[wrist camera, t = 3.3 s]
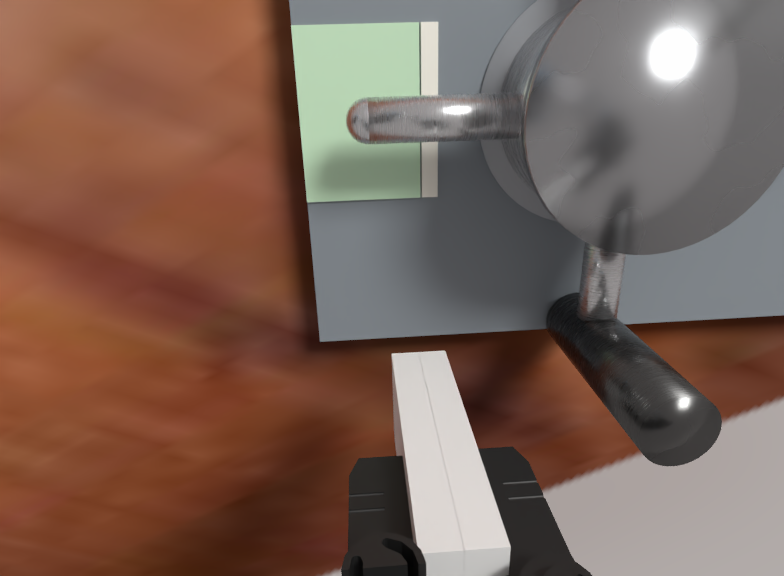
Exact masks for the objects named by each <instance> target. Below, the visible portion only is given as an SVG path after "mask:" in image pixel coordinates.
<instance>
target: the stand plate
mask: <svg viewBox="0 0 784 576" xmlns="http://www.w3.org/2000/svg"><path fill="white" fill-rule="evenodd" d="M577 1H578V0H289V6H290V17H291V32H292V43H293V54H294V65H295V76H296V87H297V98H298V109H299V120H300V131H301V142H302V153H303V164H304V175H305V186H306V197H307V204H308V215H309V226H310V237H311V248H312V259H313V270H314V281H315V292H316V304H317V315H318V326H319V337H320V342H325V341H342V340H360V339H377V338H395V337H412V336H430V335H447V334H465V333H482V332H500V331H517V330H535V329H547V327H546V318H547V314H548V312H549V310H550V308H551V306H552V305H553V304H554V303H555V302H556V301H557V300H558V299H560V298H561V297H563V296H565V295H567V294H570V293H576V292H579V289H580V280H581V272H582V263H583V254H584V246H585V241H583V240H581V239H580V238H578V237H577V236H575V235H574V234H572V233H571V232H569V231H568V230H567V229H565V228H564V227H563V226H562V225H561V224H559V223H558V222H557V221H556V220H555V219H554V218H553V217H552V216H551V215H550V213H549V212H548V211H547V210H546V208H545V207H544V206H543V205H542V203H541V201H540V200H539V198H538V196H537V195H536V193H535V192H534V191H533V190H531V189H530V188H529V187H528V186H527V185H526V184H525V183H523V182H522V181H521V179H520V178H519V177H518V176H517V174H516V173H515V172H514V170H513V169H512V167H511V165H510V164H509V162H508V160H507V157H506V155H505V153H504V150H503V146H502V143H501V140H474V141H447V142H420V143H393V144H363V143H360V142H358V141H356V140H355V139H354V138H353V137H352V136H351V135H350V133H349V132H348V129H347V127H346V115H347V111H348V109H349V107H350V106H351V105H352V104H353V103H354V102H355V101H357V100H358V99H361V98H365V97H387V96H418V95H449V94H480V93H501V92H502V87H503V84H504V81H505V78H506V75H507V72H508V70H509V68H510V66H511V64H512V62H513V60H514V58H515V56H516V55H517V53H518V52H519V50H520V49H521V47H522V45H523V44H524V43H525V42H526V41H527V39H528V38H529V37H530V36H531V35H532V34H533V33H534V32H535V31H536V30H537V29H538V28H539V27H540V26H541V25H542V24H543V23H544V22H546V21H547V20H548V19H550V18H551V17H552V16H554V15H555V14H557V13H559V12H561V11H562V10H564V9H566V8H568V7H570V6H573V5H574V4H575V3H576V2H577ZM780 315H784V167H783V169H782V170H781V172H780V173H779V174H778V176H777V177H776V179H775V180H774V182H773V183H772V184H771V186H770V187H769V188H768V189H767V190H766V191H765V193H764V194H763V195H762V196H761V197H760V198H759V200H758V201H756V202H755V203H754V204H753V205H752V206H751V207H750V208H749V209H748V210H747V211H746V212H745V213H744V214H743V215H741V216H740V217H739V218H737V219H736V220H735V221H734V222H732V223H731V224H730V225H728V226H727V227H725V228H724V229H722V230H720V231H719V232H717V233H716V234H714V235H712V236H710V237H708V238H706V239H704V240H702V241H700V242H698V243H696V244H693V245H690V246H687V247H685V248H682V249H679V250H674V251H670V252H666V253H660V254H652V255H627V254H626V261H625V267H624V274H623V281H622V288H621V294H620V301H619V308H618V315H617V319H619V320H620V321H621V322H622V323H623V324H640V323H657V322H675V321H692V320H710V319H727V318H745V317H762V316H780Z"/></svg>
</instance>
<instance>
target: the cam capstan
mask: <svg viewBox="0 0 784 576" xmlns="http://www.w3.org/2000/svg"><path fill="white" fill-rule="evenodd" d="M346 127H347V129H348V132H349V133H350V135H351V136H352V137H353V138H354V139H355V140H356V141H358V142H360V143H363V144H393V143H420V142H447V141H474V140H501V143H502V146H503V150H504V153H505V155H506V157H507V160H508V162H509V164H510V165H511V167H512V169H513V170H514V172H515V173H516V174H517V176H518V177H519V178H520V179H521V181H522V182H523V183H525V184H526V185H527V186H528V187H529V188H530V189H531V190H533V191H534V192H535V193H536V195H537V196H538V198H539V200H540V201H541V203H542V205H543V206H544V207H545V208H546V210H547V211H548V212H549V213H550V215H551V216H552V217H553V218H554V219H555V220H556V221H557V222H558V223H559V224H561V225H562V226H563V227H564V228H565V229H567V230H568V231H569V232H571V233H572V234H574V235H575V236H577V237H578V238H580V239H581V240H583V241H585V246H584V254H583V263H582V272H581V280H580V289H579V292H576V293H570V294H567V295H565V296H563V297H561V298H560V299H558V300H557V301H556V302H555V303H554V304H553V305H552V306H551V308H550V310H549V312H548V314H547V318H546V327H547V330H548V332H549V334H550V335H551V337H552V338H553V339H554V340H555V342H556V343H557V344H558V346H559V347H560V348H561V349H562V351H563V352H564V353H565V355H566V356H567V357H568V358H569V360H570V361H571V362H572V364H573V365H574V366H575V367H576V369H577V370H578V371H579V373H580V374H581V375H582V376H583V378H584V379H585V380H586V382H587V383H588V384H589V385H590V387H591V388H592V389H593V391H594V392H595V393H596V394H597V396H598V397H599V398H600V400H601V401H602V402H603V403H604V405H605V406H606V407H607V409H608V410H609V411H610V412H611V414H612V415H613V416H614V418H615V419H616V420H617V421H618V423H619V424H620V425H621V427H622V428H623V429H624V430H625V432H626V433H627V434H628V436H629V437H630V438H631V439H632V441H633V442H634V443H635V445H636V446H637V447H638V448H639V450H640V451H641V452H642V453H643V455H644V456H645V457H646V458H647V459H648V460H650V461H651V462H653V463H655V464H658V465H662V466H677V465H682V464H685V463H688V462H691V461H693V460H695V459H697V458H699V457H700V456H701V455H703V454H704V453H705V452H707V451H708V450H709V449H710V448H711V447H712V445H713V444H714V443H715V441H716V440H717V438H718V436H719V433H720V430H721V424H722V420H721V415H720V412H719V411H718V409H717V408H716V406H715V405H714V404H712V403H711V402H710V401H709V400H708V399H707V398H706V397H705V396H704V395H702V394H701V393H700V392H699V391H698V390H697V389H696V388H695V387H693V386H692V385H691V384H690V383H689V382H688V381H687V380H686V379H685V378H683V377H682V376H681V375H680V374H679V373H678V372H677V371H676V370H674V369H673V368H672V367H671V366H670V365H669V364H668V363H667V362H666V361H664V360H663V359H662V358H661V357H660V356H659V355H658V354H657V353H655V352H654V351H653V350H652V349H651V348H650V347H649V346H648V345H647V344H645V343H644V342H643V341H642V340H641V339H640V338H639V337H638V336H636V335H635V334H634V333H633V332H632V331H631V330H630V329H629V328H627V327H626V326H625V325H624V324H623V323H622V322H621V321H620V320H619V319H617V315H618V308H619V301H620V294H621V288H622V281H623V274H624V267H625V261H626V254H627V255H652V254H660V253H666V252H670V251H674V250H679V249H682V248H685V247H687V246H690V245H693V244H696V243H698V242H700V241H702V240H704V239H706V238H708V237H710V236H712V235H714V234H716V233H717V232H719V231H720V230H722V229H724V228H725V227H727V226H728V225H730V224H731V223H732V222H734V221H735V220H736V219H737V218H739V217H740V216H741V215H743V214H744V213H745V212H746V211H747V210H748V209H749V208H750V207H751V206H752V205H753V204H754V203H755V202H756V201H758V200H759V198H760V197H761V196H762V195H763V194H764V193H765V191H766V190H767V189H768V188H769V187H770V186H771V184H772V183H773V182H774V180H775V179H776V177H777V176H778V174H779V173H780V172H781V170H782V169H783V167H784V0H578V1H577V2H576V3H575V4H574V5H573V6H570V7H568V8H566V9H564V10H562V11H561V12H559V13H557V14H555V15H554V16H552V17H551V18H550V19H548V20H547V21H546V22H544V23H543V24H542V25H541V26H540V27H539V28H538V29H537V30H536V31H535V32H534V33H533V34H532V35H531V36H530V37H529V38H528V39H527V41H526V42H525V43H524V44H523V45H522V47H521V49H520V50H519V52H518V53H517V55H516V56H515V58H514V60H513V62H512V64H511V66H510V68H509V70H508V72H507V75H506V78H505V81H504V84H503V87H502V92H501V93H480V94H449V95H418V96H387V97H365V98H361V99H358V100H357V101H355V102H354V103H353V104H352V105H351V106H350V107H349V109H348V111H347V115H346Z"/></svg>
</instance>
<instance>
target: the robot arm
mask: <svg viewBox="0 0 784 576" xmlns="http://www.w3.org/2000/svg"><path fill="white" fill-rule="evenodd" d="M392 380H393V410H394V436H395V445H396V455H397V456H389V457H374V458H359V459H358V461H357V463H356V464H355V466H354V468H353V470H352V472H351V473H350V475H349V528H348V552H347V554H346V555H345V557H344V561H343V565H342V569H341V572H342V576H592V575H591V574H590V572H588V571H587V570H586V569H584V568H583V567H582V566H581V565H579V564H578V563H576V562H575V561H574V559H573V558H572V556H571V554H570V552H569V550H568V547H567V545H566V543H565V541H564V539H563V536H562V534H561V532H560V530H559V528H558V526H557V523H556V521H555V519H554V517H553V515H552V512H551V510H550V508H549V506H548V504H547V502H546V499H545V498H544V497H543V493H542V490H541V488H540V486H539V484H538V483H537V481H536V477H535V475H534V473H533V471H532V469H531V466H530V464H529V462H528V461H527V460H526V459H525V458H524V457H523V456H522V455H521V454H520V453H519V452H517V451H516V450H515V449H514V448H513V447H501V448H486V449H478V447H477V444H476V441H475V438H474V435H473V432H472V429H471V426H470V423H469V420H468V417H467V415H466V412H465V409H464V406H463V403H462V400H461V397H460V394H459V391H458V388H457V385H456V382H455V379H454V376H453V373H452V370H451V367H450V364H449V361H448V358H447V355H446V352H445V351H430V352H412V353H395V354H392Z"/></svg>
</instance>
